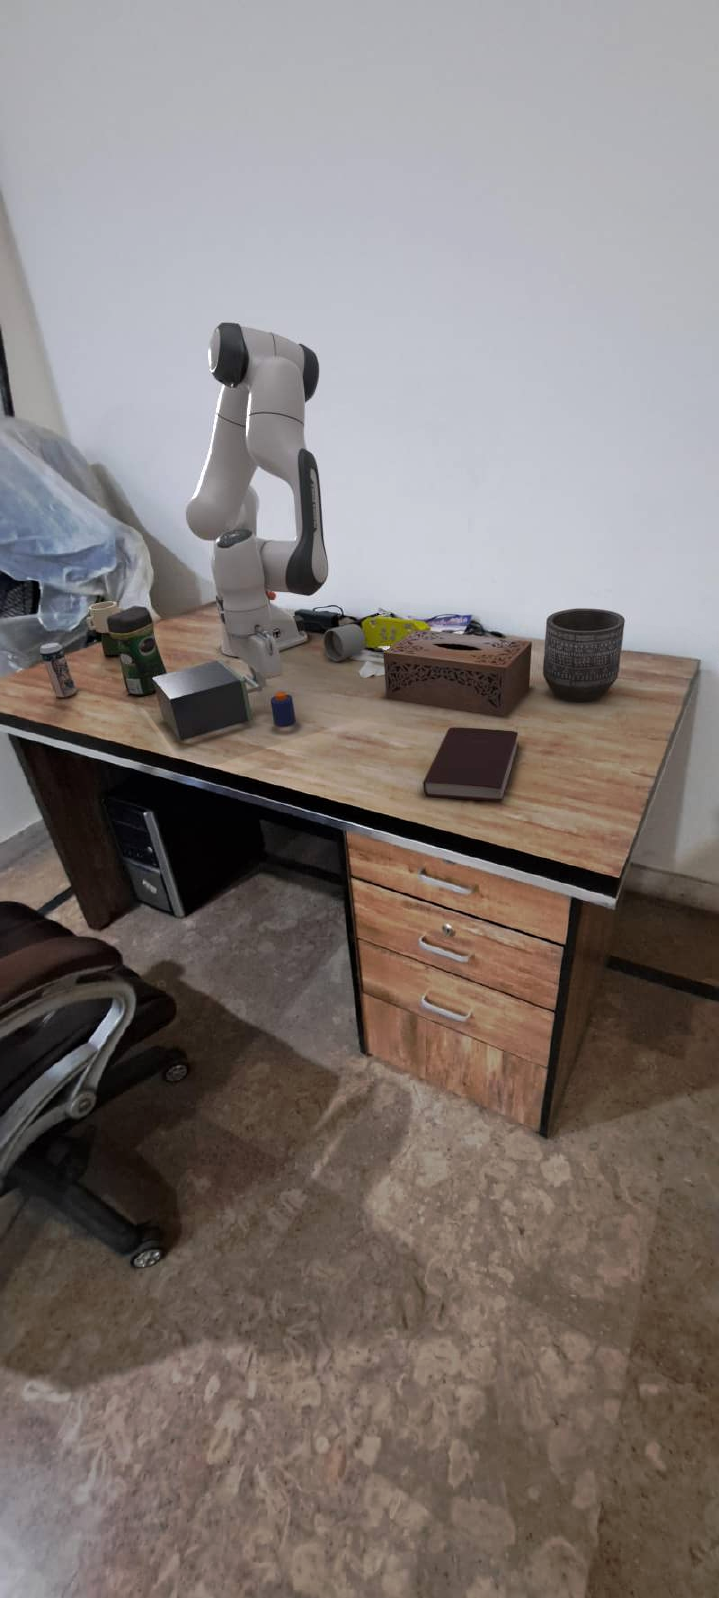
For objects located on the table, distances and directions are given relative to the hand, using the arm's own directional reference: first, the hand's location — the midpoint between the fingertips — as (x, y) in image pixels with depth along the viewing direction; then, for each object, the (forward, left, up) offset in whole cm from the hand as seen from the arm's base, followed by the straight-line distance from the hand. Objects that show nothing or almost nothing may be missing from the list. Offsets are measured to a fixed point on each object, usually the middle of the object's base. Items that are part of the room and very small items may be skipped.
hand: (260, 685), depth 139 cm
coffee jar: (+18, -28, -5) cm, 34 cm away
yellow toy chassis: (-39, -10, -5) cm, 41 cm away
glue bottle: (0, +12, -5) cm, 13 cm away
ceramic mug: (-27, -16, -5) cm, 32 cm away
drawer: (+10, 0, -5) cm, 11 cm away
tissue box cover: (-35, +20, -5) cm, 41 cm away
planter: (-54, +35, -5) cm, 65 cm away
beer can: (+35, -38, -5) cm, 52 cm away
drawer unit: (+13, 0, -5) cm, 14 cm away
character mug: (+19, -59, -5) cm, 62 cm away
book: (-19, +47, -5) cm, 51 cm away
